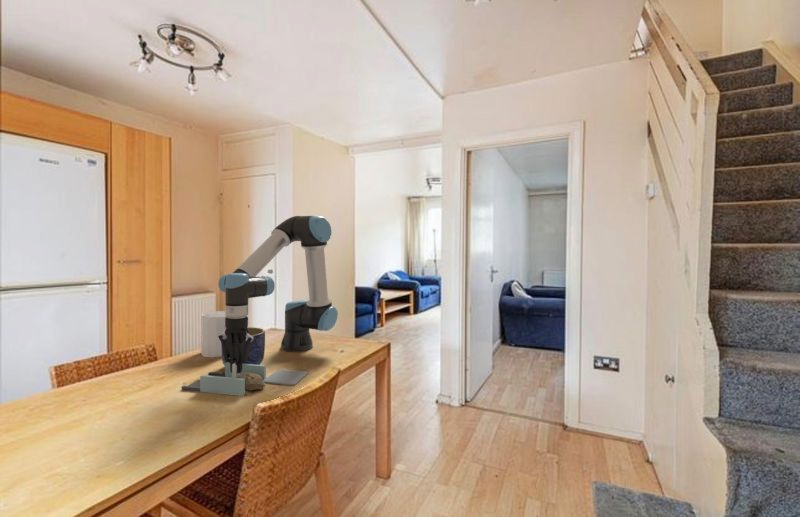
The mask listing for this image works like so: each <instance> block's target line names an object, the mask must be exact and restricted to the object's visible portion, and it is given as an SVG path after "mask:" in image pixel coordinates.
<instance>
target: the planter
mask: <svg viewBox="0 0 800 517" xmlns="http://www.w3.org/2000/svg"><path fill="white" fill-rule="evenodd" d="M247 330H248V332H249V333H248V334H249V335H251V336H254V337H255V338H254V340H253V341H252V344H251V348H250V352H249V357H248V360H247V361H246V362H244V363H242V364H254V365H262V363H263V360H264V358H265V352H266V351H265V350H266V331H265V329H264V328H260V327H250V326H248V327H247ZM224 333H225V331H224V332H223V333H222V334H224ZM228 342H229V339H228ZM245 343H246V338H245V339H244V344H243V350H244V346H245ZM229 346H230V345H229ZM221 354H222V357H221V362H222V364H223V366H224V367H225V363H226V362H225V359H224V354H223V349H222V344H221Z"/></svg>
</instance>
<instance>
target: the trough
mask: <svg viewBox="0 0 800 517" xmlns="http://www.w3.org/2000/svg"><path fill="white" fill-rule="evenodd" d="M245 372H248V373H253V374H254V373H255V374H258V375H259V376H261V377H262V380H264V379H265V378H267V377H266V375H267V374H266V373H267V365H264V364H260V365H254V364H242V372H241V373H240V375H241V374H242V373H245ZM181 391H187V392H189V391H190V392H197V393H198V392H200V393H209V394H220V395H232V396H240V397H241V396H242V397H244V396H245V395H246V393H245V392H246V389H245V379H242V378H232V372H230V363H229V362H226V363H225V366H224V372H218V371H209V372H208V374H207V375H206V374H201V375H200V376H199V379H198V380H196V381H194V382H192V383H190V384H188V385H182V386H181Z"/></svg>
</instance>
